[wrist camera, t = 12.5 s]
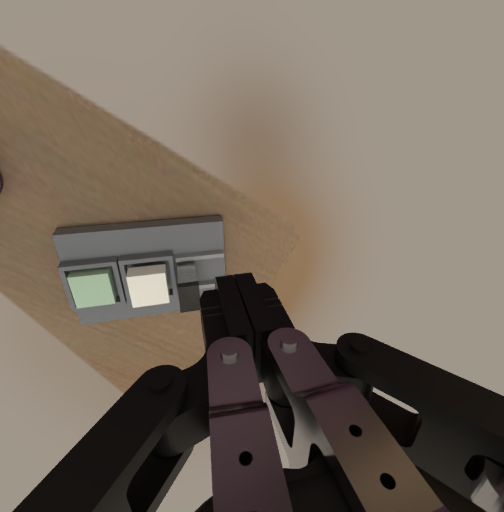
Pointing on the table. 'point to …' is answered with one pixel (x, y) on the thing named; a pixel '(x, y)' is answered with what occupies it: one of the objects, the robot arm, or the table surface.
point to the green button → (93, 287)
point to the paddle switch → (188, 286)
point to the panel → (141, 258)
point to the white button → (148, 285)
